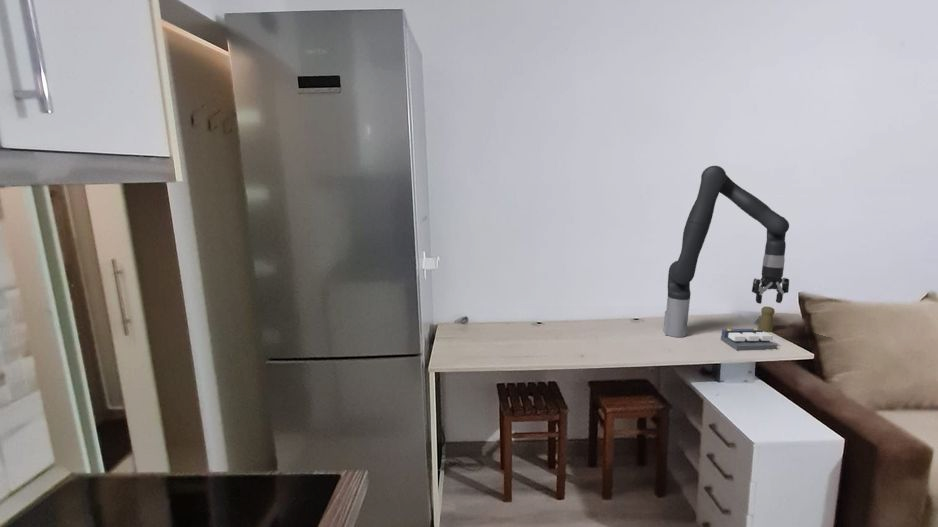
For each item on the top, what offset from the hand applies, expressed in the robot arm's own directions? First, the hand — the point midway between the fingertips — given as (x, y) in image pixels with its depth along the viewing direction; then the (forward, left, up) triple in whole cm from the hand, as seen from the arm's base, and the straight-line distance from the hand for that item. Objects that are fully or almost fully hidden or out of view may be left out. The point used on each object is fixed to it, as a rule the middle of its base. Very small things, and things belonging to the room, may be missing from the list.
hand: (768, 302), depth 208 cm
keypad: (-6, -1, -19) cm, 20 cm away
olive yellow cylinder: (+8, +20, -19) cm, 29 cm away
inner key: (-12, -3, -16) cm, 20 cm away
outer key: (0, 0, -16) cm, 16 cm away
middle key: (-6, -2, -16) cm, 17 cm away
